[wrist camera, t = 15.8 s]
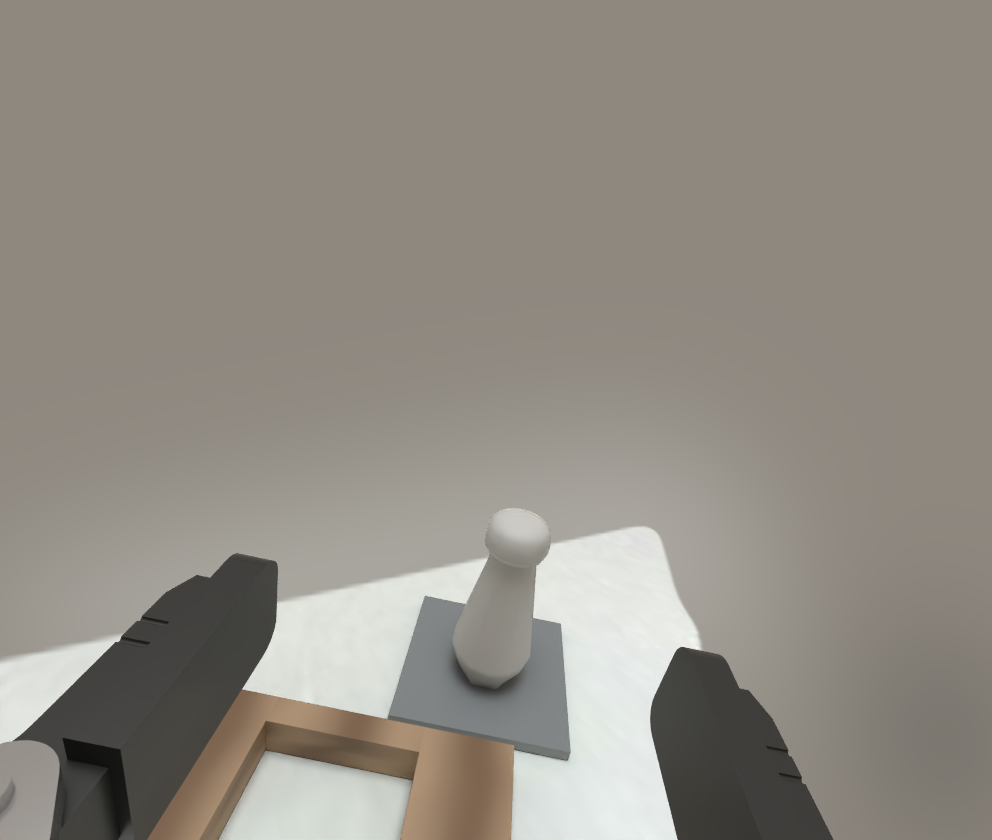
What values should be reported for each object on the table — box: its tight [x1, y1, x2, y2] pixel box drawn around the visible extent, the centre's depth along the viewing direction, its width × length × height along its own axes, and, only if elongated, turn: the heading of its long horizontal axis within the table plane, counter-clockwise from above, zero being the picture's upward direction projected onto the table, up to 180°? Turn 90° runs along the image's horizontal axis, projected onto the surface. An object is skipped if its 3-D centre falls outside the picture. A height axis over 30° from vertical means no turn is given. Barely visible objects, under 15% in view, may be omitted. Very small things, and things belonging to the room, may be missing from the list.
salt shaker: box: [452, 508, 551, 690], centre depth 33 cm, size 6×6×13 cm
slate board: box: [388, 596, 570, 760], centre depth 36 cm, size 12×11×1 cm
